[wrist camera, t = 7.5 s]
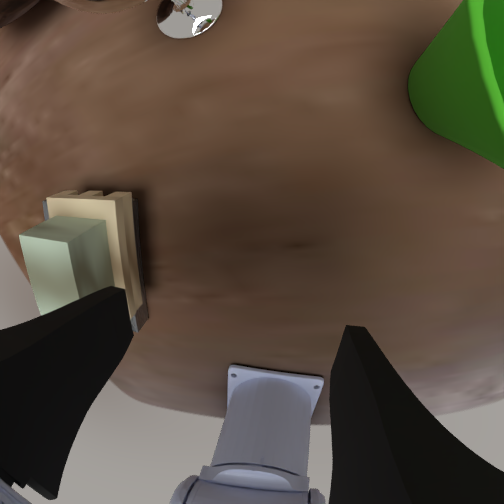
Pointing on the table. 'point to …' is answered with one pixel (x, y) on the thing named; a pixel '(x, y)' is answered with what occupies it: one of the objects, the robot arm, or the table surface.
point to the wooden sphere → (14, 9)
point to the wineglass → (162, 13)
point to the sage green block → (82, 249)
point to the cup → (465, 80)
